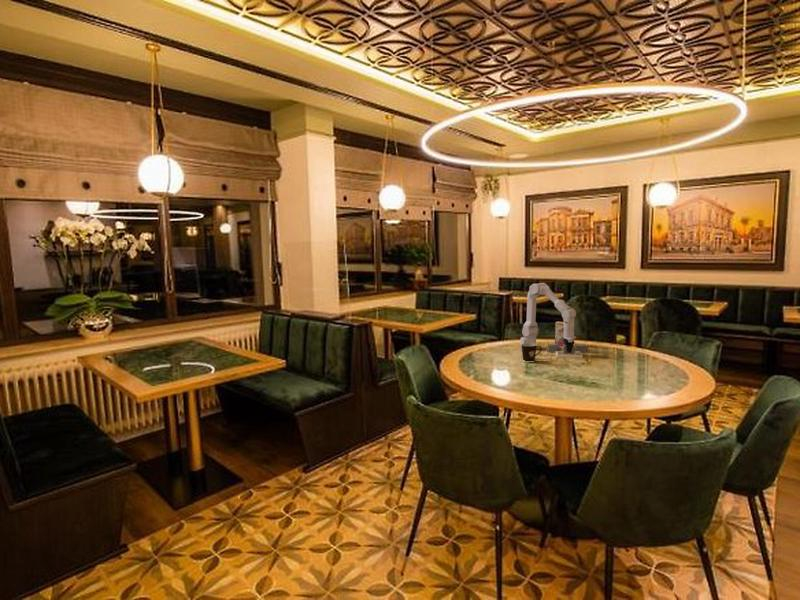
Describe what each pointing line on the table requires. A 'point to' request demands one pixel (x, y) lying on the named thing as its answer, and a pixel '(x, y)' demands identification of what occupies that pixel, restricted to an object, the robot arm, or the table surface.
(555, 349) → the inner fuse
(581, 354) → the parts tray
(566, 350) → the marked fuse
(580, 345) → the outer fuse
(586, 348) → the fuse board
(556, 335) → the candy bar box
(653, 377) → the table surface
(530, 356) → the coffee mug
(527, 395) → the table surface
